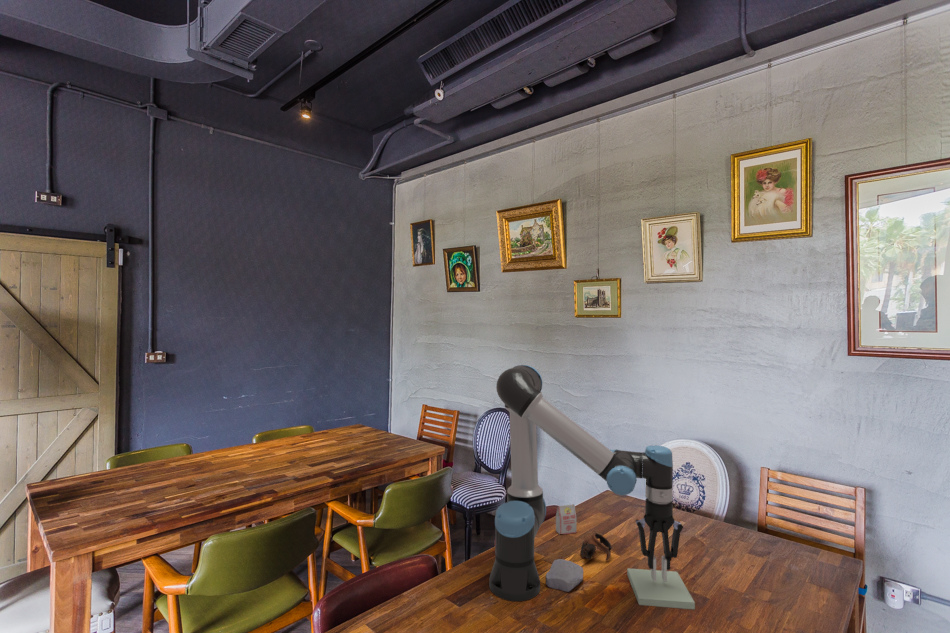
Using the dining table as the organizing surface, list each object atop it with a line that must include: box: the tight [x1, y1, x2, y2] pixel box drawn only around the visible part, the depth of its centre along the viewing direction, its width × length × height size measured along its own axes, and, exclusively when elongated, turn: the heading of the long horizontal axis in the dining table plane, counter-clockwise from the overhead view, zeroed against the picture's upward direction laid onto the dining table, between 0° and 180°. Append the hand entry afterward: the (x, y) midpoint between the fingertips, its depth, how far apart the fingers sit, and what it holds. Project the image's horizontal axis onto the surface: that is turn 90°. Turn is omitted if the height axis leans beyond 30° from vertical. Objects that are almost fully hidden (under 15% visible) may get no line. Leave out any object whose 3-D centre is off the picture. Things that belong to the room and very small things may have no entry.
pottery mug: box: [579, 532, 613, 562], centre depth 156 cm, size 12×9×8 cm
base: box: [626, 567, 696, 610], centre depth 138 cm, size 15×16×2 cm
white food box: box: [555, 503, 577, 535], centre depth 177 cm, size 4×7×10 cm, turn 106°
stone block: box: [545, 558, 584, 593], centre depth 142 cm, size 12×5×10 cm
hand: (658, 579), depth 138 cm, fingers open, 2 cm apart
